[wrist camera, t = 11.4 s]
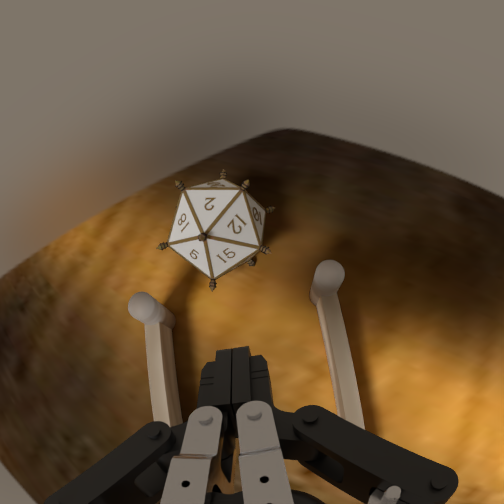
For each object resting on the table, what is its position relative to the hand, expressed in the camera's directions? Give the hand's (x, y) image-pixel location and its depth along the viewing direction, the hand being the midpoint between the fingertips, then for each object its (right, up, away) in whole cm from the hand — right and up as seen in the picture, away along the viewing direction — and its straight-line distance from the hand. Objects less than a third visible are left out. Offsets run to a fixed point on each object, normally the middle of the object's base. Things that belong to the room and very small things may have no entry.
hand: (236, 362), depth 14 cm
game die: (-1, +5, +14) cm, 15 cm away
